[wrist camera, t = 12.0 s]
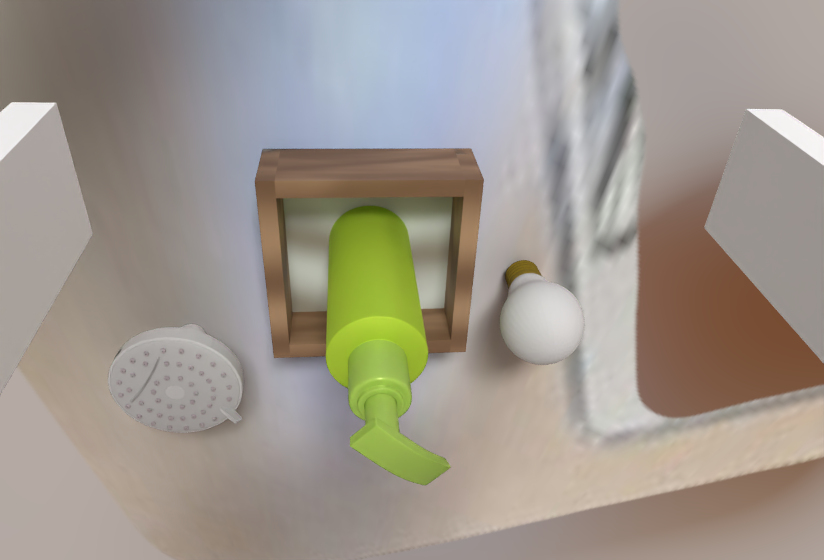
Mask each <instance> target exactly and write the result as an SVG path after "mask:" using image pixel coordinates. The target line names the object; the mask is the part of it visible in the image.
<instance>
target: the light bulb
mask: <svg viewBox="0 0 824 560" xmlns="http://www.w3.org/2000/svg"><path fill="white" fill-rule="evenodd" d="M505 278H506V282H507V285H508V289H509V290H508V298H507V300H506V301H505V303H504V305H503V307H502V310H501V314H500V331H501V334H502V337H503V340H504V342H505V343H506V345H507V347H508V348H509V349H510V350H511V351H512V352H513V353H514V354H515V355H516V356H517V357H519V358H520V359H522V360H524V361H526V362H529V363H532V364H538V365H548V364H553V363H557V362H559V361H562V360H563V359H565V358H567V357H568V356H569V355H571V354H572V353H573V352H574V350H575V349H576V348H577V347H578V345H579V343H580V341H581V339H582V336H583V333H584V315H583V311H582V308H581V306H580V304H579V302H578V300H577V299H576V298H575V296H574V295H573V294H572V293H571V292H570V291H568V290H567V289H566V288H564V287H562V286H561V285H558V284H556V283H552V282H548V281H547V280H546V279H545V278H544V277H542V275H541V273H540V272H539V270H538V268H537V266H536V265H535V264H534V263H532V262H530V261H527V260H522V261H517V262H515V263H513V264H512V265H511V266H510V267H509V268H508V269H507V271H506V275H505Z"/></svg>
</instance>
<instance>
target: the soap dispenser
mask: <svg viewBox="0 0 824 560" xmlns="http://www.w3.org/2000/svg"><path fill="white" fill-rule="evenodd" d="M427 359H428V347H427V341H426V335H425V329H424V323H423V317H422V311H421V306H420V300H419V294H418V288H417V282H416V276H415V270H414V264H413V258H412V252H411V246H410V240H409V234H408V230H407V228H406V226H405V224H404V222H403V221H402V220H401V218H400V217H399V216H397V215H396V214H395V213H393V212H392V211H390V210H388V209H386V208H383V207H379V206H361V207H357V208H354V209H351V210H349V211H347V212H346V213H344V214H343V215H342V216H340V217H339V218H338V219H337V221H336V222H335V223H334V225H333V227H332V229H331V232H330V236H329V262H328V297H327V332H326V363H327V367H328V369H329V371H330V373H331V375H332V376H333V377H334V378H335V379H336V380H337V381H338V382H339V383H340V384H341V385H343V386H345V387H346V388H348V399H349V406H350V408H351V410H352V412H353V413H354V414H355V415H356V416H357V417H359V418H361V419H362V420H365V426H364V427H362V428H361V429H360V430H359V431H357V432H356V433H355V434H354V435H352V436H351V437H350V446H351V447H352V448H353V449H355V450H356V451H358V452H359V453H361V454H362V455H364V456H365V457H367V458H368V459H370V460H371V461H373V462H374V463H376V464H377V465H379V466H381V467H382V468H384V469H385V470H387V471H389V472H391V473H393V474H394V475H396V476H398V477H401V478H403V479H405V480H408V481H411V482H414V483H417V484H421V485H427V484H429V483H430V482H431V481H433V480H434V479H436V478H437V477H438V476H440V475H441V474H443V473H444V472H445V471H447V470H448V469H449V468H451V466H450V465H449V463H448V462H447V460H446V459H445V458H443V457H440V456H438V455H435V454H433V453H431V452H429V451H427V450H425V449H424V448H422V447H420V446H419V445H417V444H416V443H414V442H413V441H411V440H410V439H408V438H407V437H405V436H404V435H402V434H401V433H400V432H399V422H398V418H399V417H400V416H402V415H403V414H404V413H405V412H406V411H407V410H408V409H409V407H410V405H411V400H412V393H411V385H410V383H412V382H413V381H414V380H415V379H417V378H418V376H419V375H420V374H421V373H422V371H423V370H424V368H425V366H426V363H427Z"/></svg>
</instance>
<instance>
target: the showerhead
mask: <svg viewBox="0 0 824 560" xmlns="http://www.w3.org/2000/svg"><path fill="white" fill-rule="evenodd" d="M243 384H244V375H243V370H242V367H241V364H240V362H239V360H238V359H237V357H236V356H235V355H234V353H233V352H232V351H231V350H230V349H229V348H228V347H227V346H226V345H224V344H223V343H222V342H220V341H219V340H217V339H215V338H213V337H211V336H209V335H207V334H206V333H205V331H204V329H203V328H201V327H200V326H198V325H195V324H186V325H184V326H182V327H180V328H177V327H165V328H157V329H152V330H148V331H145V332H142V333H140V334H138V335H136V336H134V337H132V338H131V339H130V340H128V341H127V342H126V343H125V344H124V345H123V346H122V347H121V348H120V350H119V351H118V353H117V355H116V357H115V359H114V361H113V363H112V365H111V367H110V370H109V374H108V385H109V390H110V393H111V395H112V397H113V399H114V400H115V402H116V403H117V404H118V406H119V407H120V408H121V409H122V410H123V411H124V412H125V413H126V414H127V415H129V416H130V417H132V418H133V419H135V420H136V421H138V422H140V423H142V424H144V425H146V426H149V427H152V428H155V429H158V430H163V431H168V432H177V433H187V432H197V431H201V430H206V429H209V428H211V427H214V426H216V425H219V424H220V423H222V422H224V421H225V420H227V419H229V420H231V421H232V422H233V423H238V422H240V421H241V420H242V417H241V416H240V415H239V414H238V413H237V412H236V409H237V408H238V406H239V404H240V401H241V398H242V392H243Z"/></svg>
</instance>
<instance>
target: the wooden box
mask: <svg viewBox="0 0 824 560" xmlns="http://www.w3.org/2000/svg"><path fill="white" fill-rule="evenodd" d="M483 183H484V179H483V176H482V174H481V172H480V169H479V167H478V164H477V162H476V159H475V157H474V155H473V152H472V150H471V149H263V150H262V154H261V158H260V162H259V166H258V170H257V174H256V178H255V187H256V197H257V206H258V215H259V224H260V233H261V243H262V252H263V261H264V270H265V279H266V288H267V298H268V307H269V316H270V325H271V334H272V343H273V353H274V358H285V357H317V356H326V332H327V297H328V262H329V236H330V232H331V229H332V227H333V225H334V223H335V222H336V221H337V219H338V218H339V217H340V216H342V215H343V214H344V213H346V212H347V211H349V210H351V209H354V208H357V207H361V206H379V207H383V208H386V209H388V210H390V211H392V212H393V213H395V214H396V215H397V216H399V217H400V218H401V220H402V221H403V222H404V224H405V226H406V228H407V230H408V234H409V240H410V246H411V252H412V258H413V264H414V270H415V276H416V282H417V288H418V294H419V300H420V306H421V311H422V317H423V323H424V329H425V335H426V341H427V347H428V353H443V352H466V342H467V333H468V324H469V314H470V305H471V295H472V286H473V277H474V267H475V258H476V248H477V239H478V230H479V220H480V211H481V201H482V192H483Z"/></svg>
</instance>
